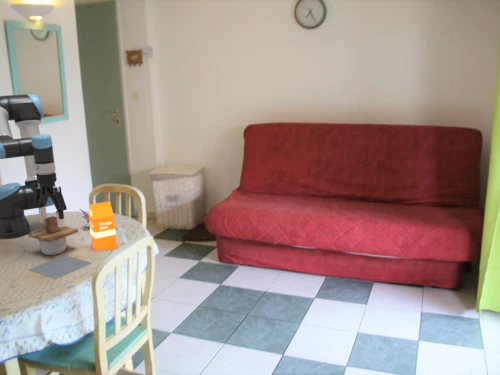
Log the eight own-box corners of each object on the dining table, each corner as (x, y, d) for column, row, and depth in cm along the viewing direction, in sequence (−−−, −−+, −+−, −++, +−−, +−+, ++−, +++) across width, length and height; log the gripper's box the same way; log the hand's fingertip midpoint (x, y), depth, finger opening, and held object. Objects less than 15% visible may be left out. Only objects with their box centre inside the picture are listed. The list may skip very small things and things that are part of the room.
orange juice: (117, 247, 217) (112, 203, 212) (96, 252, 212) (91, 206, 207) (111, 242, 223) (107, 199, 218) (91, 246, 219) (86, 202, 214)
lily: (101, 234, 237) (106, 214, 239) (76, 228, 232) (81, 208, 234) (96, 234, 247) (101, 215, 249) (72, 229, 242) (77, 209, 244)
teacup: (58, 259, 206) (56, 240, 204) (34, 257, 208) (32, 239, 206) (76, 246, 219) (74, 229, 217) (53, 245, 221) (51, 228, 219)
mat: (28, 271, 195) (27, 269, 195) (64, 256, 209) (64, 254, 208) (56, 280, 186) (55, 279, 186) (92, 264, 200) (92, 263, 200)
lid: (28, 236, 209) (26, 220, 208) (56, 226, 221) (54, 211, 219) (50, 242, 202) (48, 225, 200) (78, 231, 214) (76, 215, 212)
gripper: (20, 171, 208) (27, 222, 214) (56, 177, 196) (62, 231, 202) (36, 168, 214) (43, 217, 220) (72, 173, 202) (78, 225, 208)
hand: (52, 224), depth 211 cm, fingers open, 10 cm apart
